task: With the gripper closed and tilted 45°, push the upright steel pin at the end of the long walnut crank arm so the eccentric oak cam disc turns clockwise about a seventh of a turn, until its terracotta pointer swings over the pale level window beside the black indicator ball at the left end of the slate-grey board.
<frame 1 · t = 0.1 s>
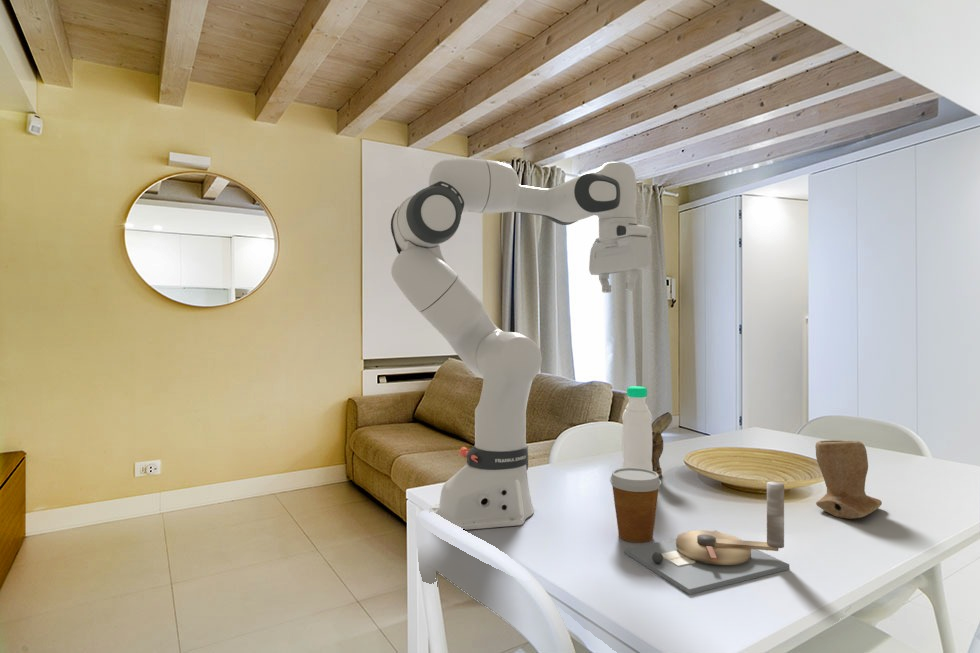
hand: (618, 291, 131), 48 cm above the table, tool pointing down, fingers open, 8 cm apart
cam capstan: (729, 517, 94), point 7 cm above the table, hinge at 0.0°
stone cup: (844, 510, 119), on the table
disposable coffee cup: (635, 537, 105), on the table
water bottle: (637, 491, 133), on the table
stone sculpture: (649, 477, 145), on the table
base board: (704, 560, 94), on the table
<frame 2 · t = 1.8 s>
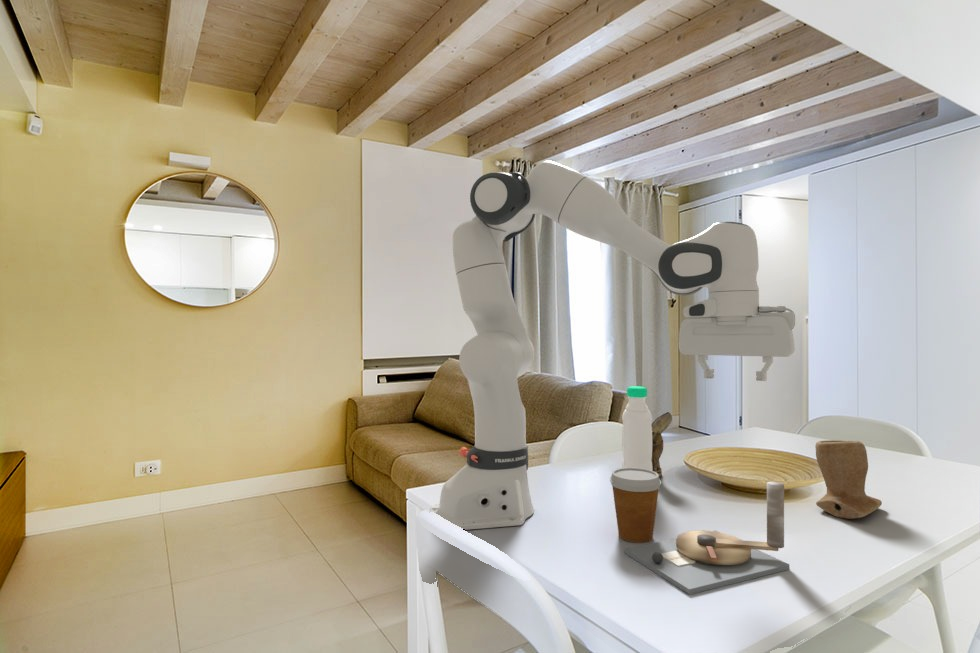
hand: (734, 379, 106), 30 cm above the table, tool pointing down, fingers open, 8 cm apart
nothing on the table moved.
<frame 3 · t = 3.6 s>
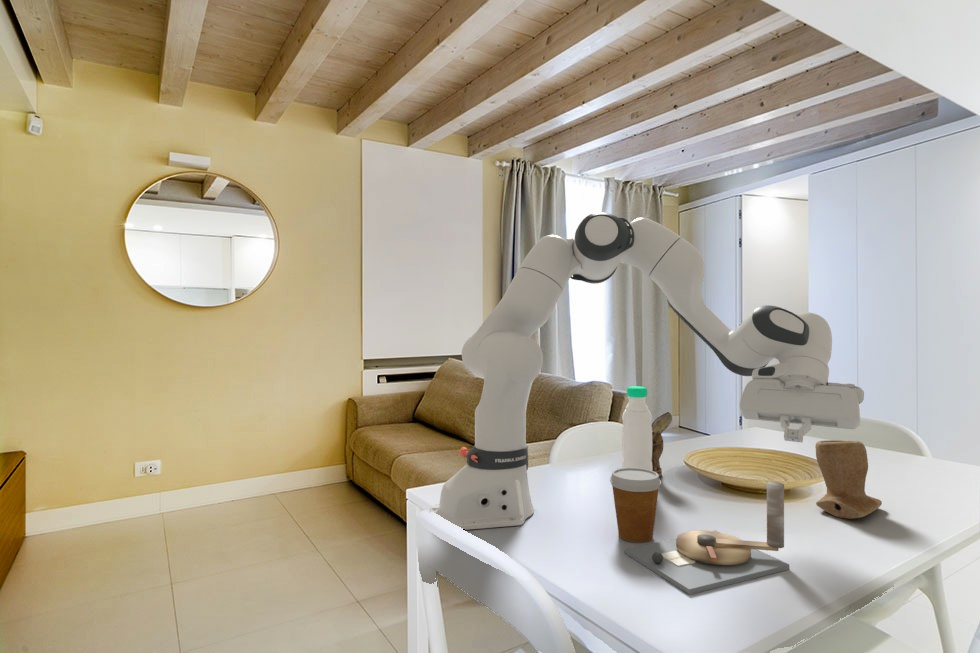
hand: (792, 440, 103), 19 cm above the table, tool tilted 45°, fingers closed
nothing on the table moved.
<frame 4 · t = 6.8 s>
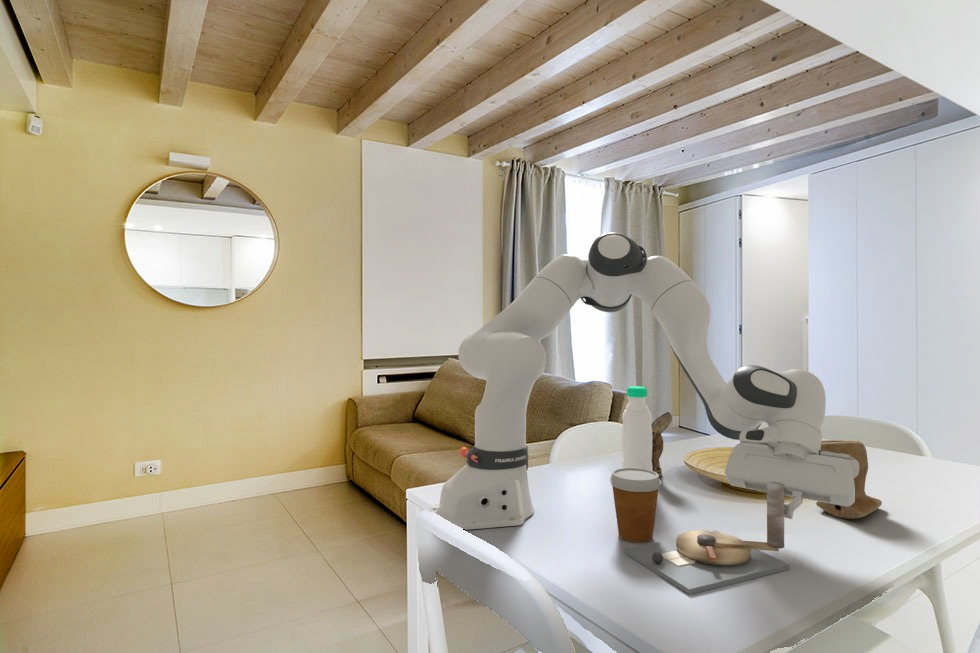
hand: (781, 515, 94), 8 cm above the table, tool tilted 45°, fingers closed
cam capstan: (729, 517, 94), point 7 cm above the table, hinge at 0.5°, touching gripper
everything else where it was.
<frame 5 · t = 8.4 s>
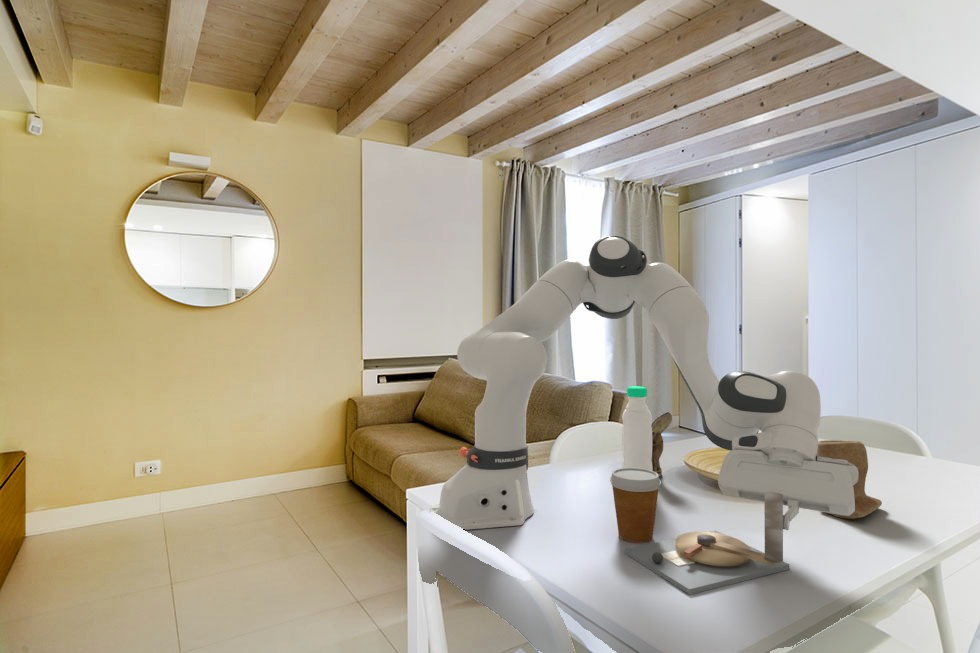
hand: (778, 527, 89), 8 cm above the table, tool tilted 45°, fingers closed, pressing on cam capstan
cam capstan: (725, 521, 93), point 7 cm above the table, hinge at 33.8°, touching gripper
everything else where it was.
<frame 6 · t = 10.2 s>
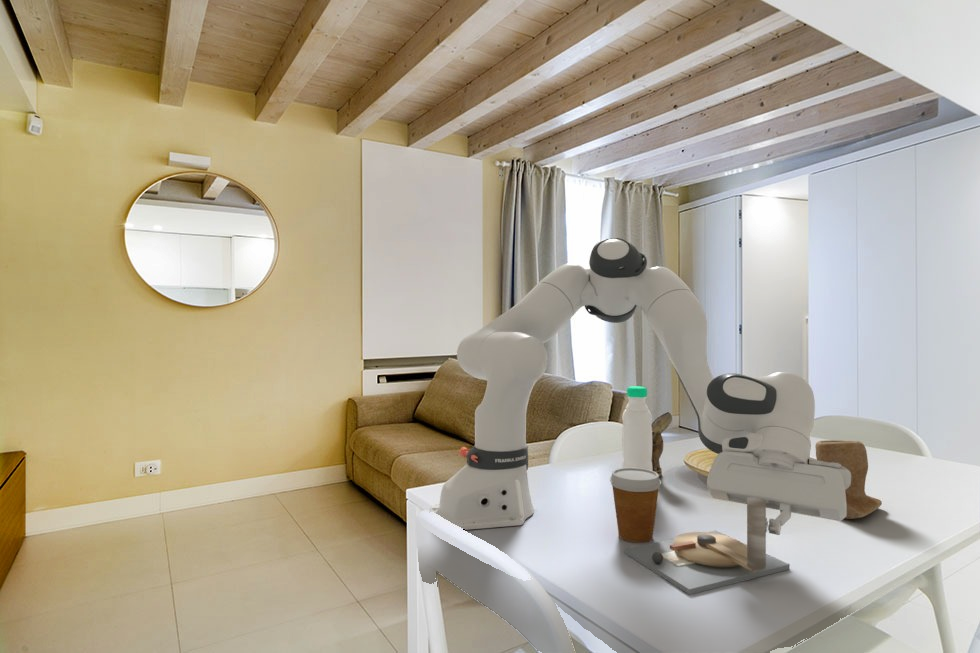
hand: (767, 531, 86), 8 cm above the table, tool tilted 45°, fingers closed
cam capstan: (718, 522, 92), point 7 cm above the table, hinge at 57.9°, touching gripper
everything else where it was.
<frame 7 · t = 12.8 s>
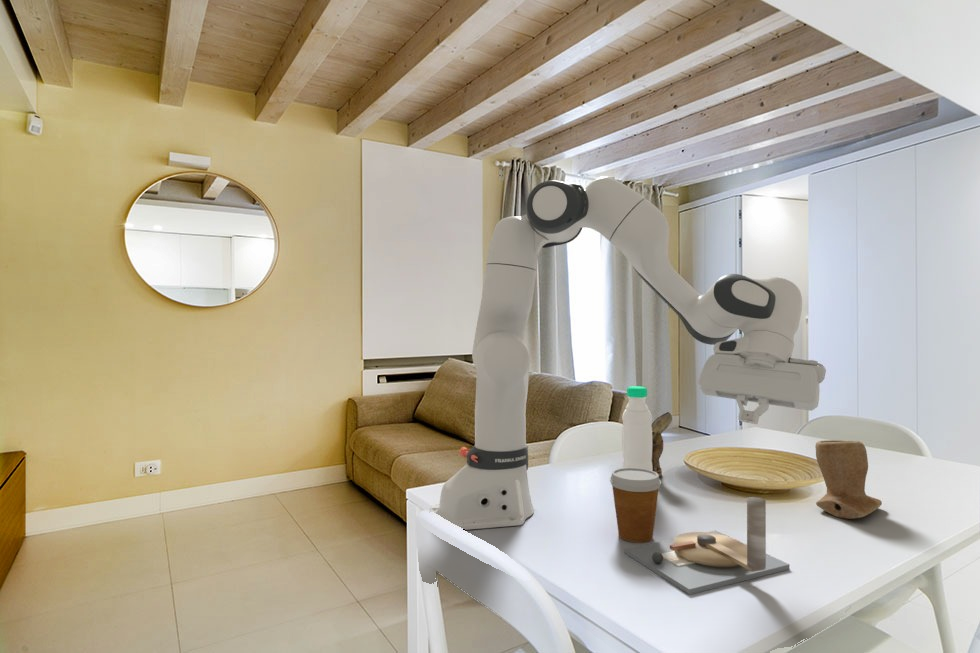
hand: (747, 421, 99), 23 cm above the table, tool tilted 35°, fingers closed
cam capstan: (718, 522, 92), point 7 cm above the table, hinge at 58.0°
everything else where it was.
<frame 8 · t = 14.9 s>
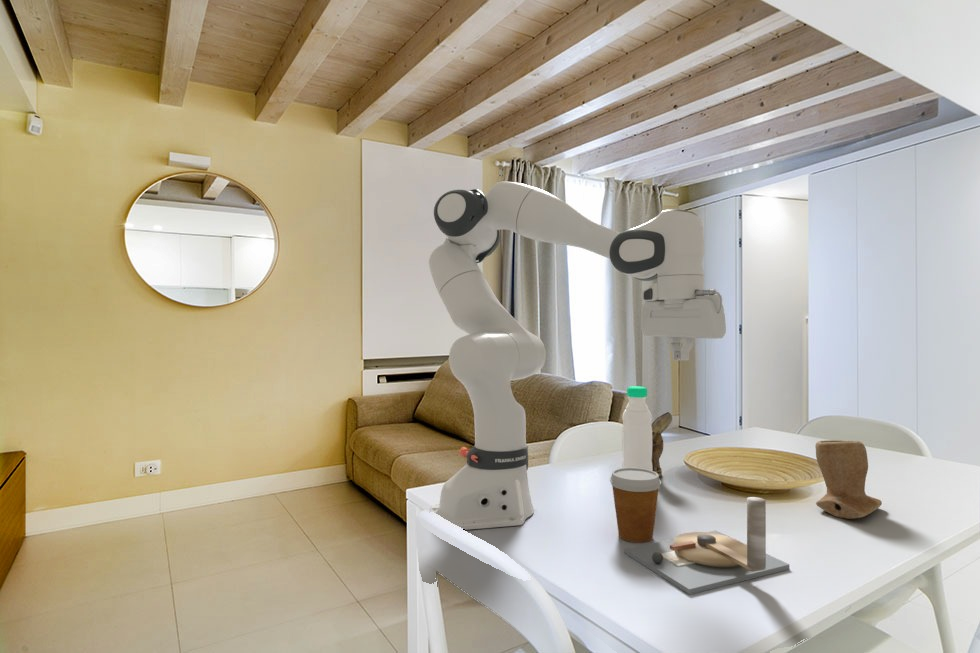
hand: (680, 360, 110), 33 cm above the table, tool pointing down, fingers closed
nothing on the table moved.
at the end: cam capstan at +58° (first picture: +0°) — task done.
